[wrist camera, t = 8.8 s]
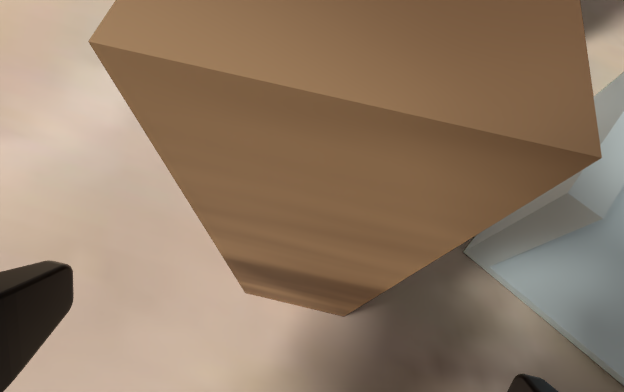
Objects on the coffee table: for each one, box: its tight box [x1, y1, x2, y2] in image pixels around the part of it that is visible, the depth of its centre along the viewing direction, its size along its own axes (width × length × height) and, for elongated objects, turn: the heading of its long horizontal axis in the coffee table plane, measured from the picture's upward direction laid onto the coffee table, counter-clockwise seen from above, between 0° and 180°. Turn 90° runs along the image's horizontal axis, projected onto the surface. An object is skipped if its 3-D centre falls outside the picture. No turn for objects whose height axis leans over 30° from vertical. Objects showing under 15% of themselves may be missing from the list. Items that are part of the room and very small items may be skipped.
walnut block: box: [88, 0, 602, 316], centre depth 10 cm, size 4×4×14 cm
